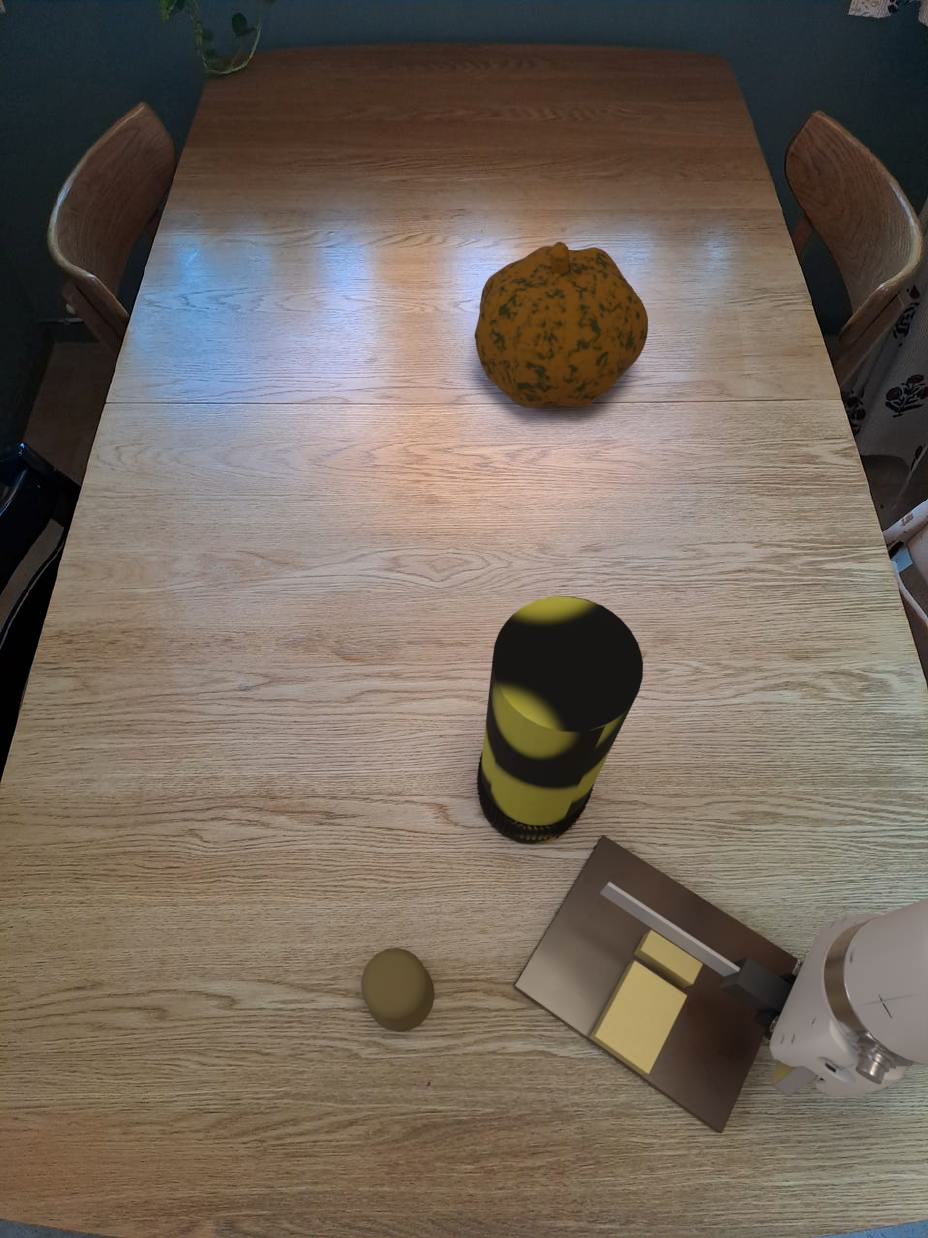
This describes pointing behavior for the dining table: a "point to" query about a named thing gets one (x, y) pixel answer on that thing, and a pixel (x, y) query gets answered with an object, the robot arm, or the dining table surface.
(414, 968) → the cork
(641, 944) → the butter slice
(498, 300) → the decorative pumpkin
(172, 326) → the dining table surface
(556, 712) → the container
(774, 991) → the knife
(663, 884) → the cutting board
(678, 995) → the butter stick
